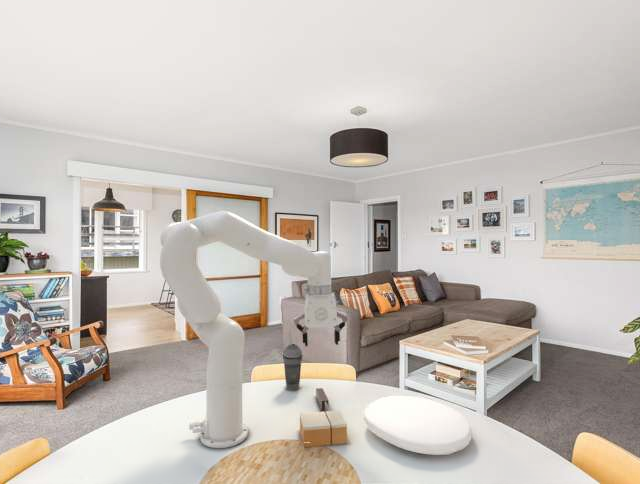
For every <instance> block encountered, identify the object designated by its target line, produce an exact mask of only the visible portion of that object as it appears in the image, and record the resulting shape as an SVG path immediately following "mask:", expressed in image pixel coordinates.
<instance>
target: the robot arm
mask: <svg viewBox="0 0 640 484" xmlns="http://www.w3.org/2000/svg"><path fill="white" fill-rule="evenodd" d="M217 242H220V243H222V244H224V245H226V246H228V247H230V248H233V249H235V250H236V251H239V252H241V253H243V254H245V255H247V256H249V257H251V258H252V259H256V260H258V261H261V262H267V263H271V264H275V265H277V266H278V265H279V266H280V267H281V269H282V271H283V272H284V273H285V274H286V275H289V276H292V277H296V278H297V277H298V278H299V277H300V278H304V279H307V285H306V286H304V287H303V288H302V289H303V290H302V291H303V292H305V293H307V294H306V295H305V299H304V312H303V313H301V314H299V315H298V316H296V317H294V318H293V319H292V321H293V323H294V325H295V327H296V328H297V330H299V331H300V332H301V334H302V344H304V347H308V345H309V343H308V341H309V340H308V330H309V329H323V328H334V331H333V334H334V335H333V337H334V344H335V345H336V346H339V342H341V335H340V333H341V331H342V330H343V329H344V327H345V326H346V324H347V321H348V319H349V317H348V316H347V315H345V314H343V313H341V312H339V311H338V309H337V300H336V297H335V294H334V293H333V292H332V291H333V289H332V257H331V254H330V252H329V251H323V250H322V251H311V250H309V249H307V248H305V247H303V246H302V245H299V244H298V243H295V242H293V241H291V240H288V239H286V238H283V237H281V236H279V235H277V234H274V233H272V232H269V231H267V230H265V229H263V228H261V227H259V226H257V225H255V224H254V223H252V222H250V221H248V220H246V219H245V218H242V217H240V216H238V215H237V214H234V213H233V212H230V211H227V210H219V211H214V212H211V213H207V214H205V215H201V216H198V217H195V218H191V219H187V220H183V221H179V222H175V223H171V224H169V225H167V226H166V227H164V229H163V230H162V232H161V235H160V244H161V246H162V247H161V250H160V257H159V265H160V272H161V274H162V277H163V278H164V280H165V282H166V284H167V286H168V287H169V288H170V290H171V292H172V293H173V295H174V297H176V299H177V307H178V311H179V312H180V315H182V317H183V318H184V320H185V321H186V322H187V323H188V325H189V326H190V327H191V328H190V329H192V331H193V332H194V333H195V334H196V336H197V337H198V338H199V340H200V341H201V342H202V343H203V345H205V346H206V347H207V348H208V355H207V361H206V370H205V371H206V373H205V374H206V376H205V377H206V378H205V379H206V416H205V419H201V420H200V421H197V420H196V421H190V422H189V425H188V427H189V430H190V431H192V434H197V433H200V436H199V439H200V442H201V443H202V445H204V446H206V447H209V448H213V449H227V448H230V447H234V446H236V445H239V444H240V443H242V442H244V441H245V440H246V439H247V438H248V435H249V428H248V426H247V425H246V424H245V423H243V361H244V360H243V359H244V351H245V345H246V344H245V343H246V336H245V331H244V329H243V327H242V326H241V325H240V324H239V323H238V322H237V321H236V320H234V319H232V318H230V317H228V316H226V315H225V313H224V312H223V311H222V309H221V308H222V305H221V300H220V298H219V296H218V294H217V293H216V292H215V291H214V289H213V288H212V286H211V285H210V283H209V282H208V281H207V279H206V278H205V276H204V275H203V273H202V271H201V269H200V268H199V266H198V264H197V260H196V256H197V251H198V249H199V248H201V247H205V246H208V245H210V244H213V243H217ZM338 318H339V319H341V322H340V323H339V324H338ZM303 319H304V325H303V326H302V325H301V324H300V321H303Z"/></svg>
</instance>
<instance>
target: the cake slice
mask: <svg viewBox="0 0 640 484" xmlns="http://www.w3.org/2000/svg"><path fill="white" fill-rule="evenodd" d="M325 414H326V416H327V418H328V421H329V423H330V425H331V445H342V444H343V445H344V444H347V443H348V429H347V428H348V427H347V422H346V420H345V418H344V416H343V415H342V412H341V410H330V411H326V412H325Z"/></svg>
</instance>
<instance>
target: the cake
mask: <svg viewBox="0 0 640 484" xmlns="http://www.w3.org/2000/svg"><path fill="white" fill-rule="evenodd" d="M299 434H300V437H301V441H302V445H303V448H310V447H316V446H315V445H318V446H317V447H321V446H330V445H332V444H331V425H330V423H329V421H328V418H327V416H326V412H325V411H314V412H301V413H299ZM303 441H304V442H310V443H304V442H303Z"/></svg>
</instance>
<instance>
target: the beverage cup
mask: <svg viewBox="0 0 640 484" xmlns="http://www.w3.org/2000/svg"><path fill="white" fill-rule="evenodd" d="M288 334H289V335H288V336H289V343H290V344H288V345H287V346H286V347H285V348H284V350H283V352H282V360H283V365H284V377H285V387H286V390H288V391H298V390H299V389H300V384H301V383H300V382H301V372H302V371H301V369H302V361H303V357H304V356H303V351H302V349H301V347H300V346H299V345H298V344H295V343H293V342H292V341H293V340H292V334H291V331H289V332H288Z"/></svg>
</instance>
